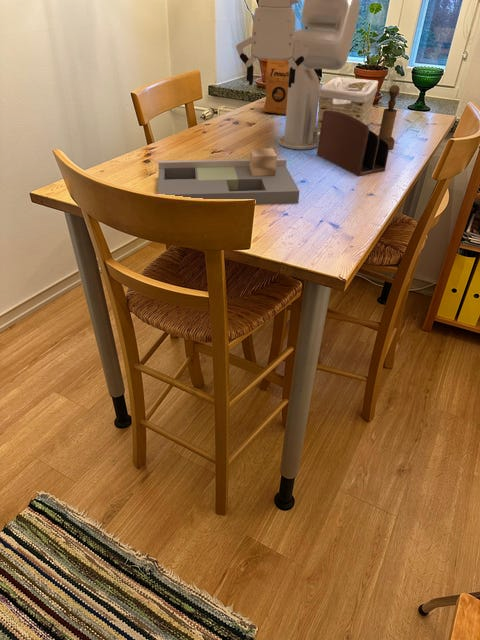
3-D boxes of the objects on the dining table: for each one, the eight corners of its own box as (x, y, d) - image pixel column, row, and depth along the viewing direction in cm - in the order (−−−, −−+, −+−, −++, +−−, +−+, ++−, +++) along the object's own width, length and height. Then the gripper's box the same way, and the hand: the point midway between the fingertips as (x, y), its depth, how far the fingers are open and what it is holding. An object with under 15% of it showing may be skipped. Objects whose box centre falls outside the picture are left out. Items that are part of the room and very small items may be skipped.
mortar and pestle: (395, 145, 151) (408, 84, 140) (391, 151, 146) (404, 88, 135) (374, 142, 153) (386, 82, 142) (370, 147, 148) (382, 86, 137)
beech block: (271, 167, 124) (272, 148, 121) (275, 175, 119) (276, 156, 116) (249, 167, 123) (250, 148, 120) (252, 176, 119) (253, 156, 116)
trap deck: (283, 174, 128) (284, 158, 125) (298, 202, 113) (300, 185, 111) (159, 177, 125) (158, 160, 122) (158, 207, 110) (156, 188, 107)
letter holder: (358, 177, 128) (367, 124, 120) (315, 155, 142) (321, 106, 133) (385, 171, 132) (396, 119, 124) (341, 151, 146) (349, 103, 137)
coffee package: (292, 117, 175) (297, 51, 162) (260, 114, 178) (263, 48, 165) (298, 111, 183) (303, 47, 169) (267, 108, 186) (271, 45, 172)
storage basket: (329, 118, 176) (335, 75, 167) (372, 123, 171) (380, 79, 162) (312, 135, 158) (317, 88, 149) (359, 141, 154) (368, 93, 145)
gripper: (313, 2, 106) (305, 84, 116) (238, -1, 107) (237, 80, 118) (314, 3, 100) (305, 90, 110) (234, 0, 101) (233, 86, 112)
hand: (270, 85), depth 114 cm, fingers open, 9 cm apart
